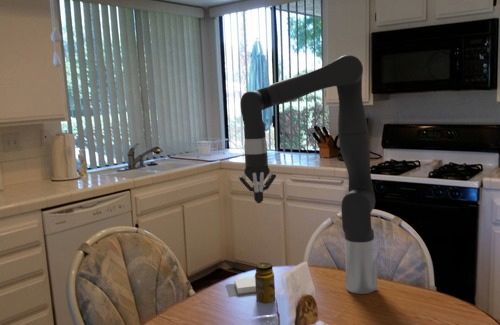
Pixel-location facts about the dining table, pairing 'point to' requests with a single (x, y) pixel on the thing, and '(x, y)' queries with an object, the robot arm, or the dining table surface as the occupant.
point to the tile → (245, 285)
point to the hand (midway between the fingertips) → (258, 202)
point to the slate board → (235, 291)
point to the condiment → (264, 283)
